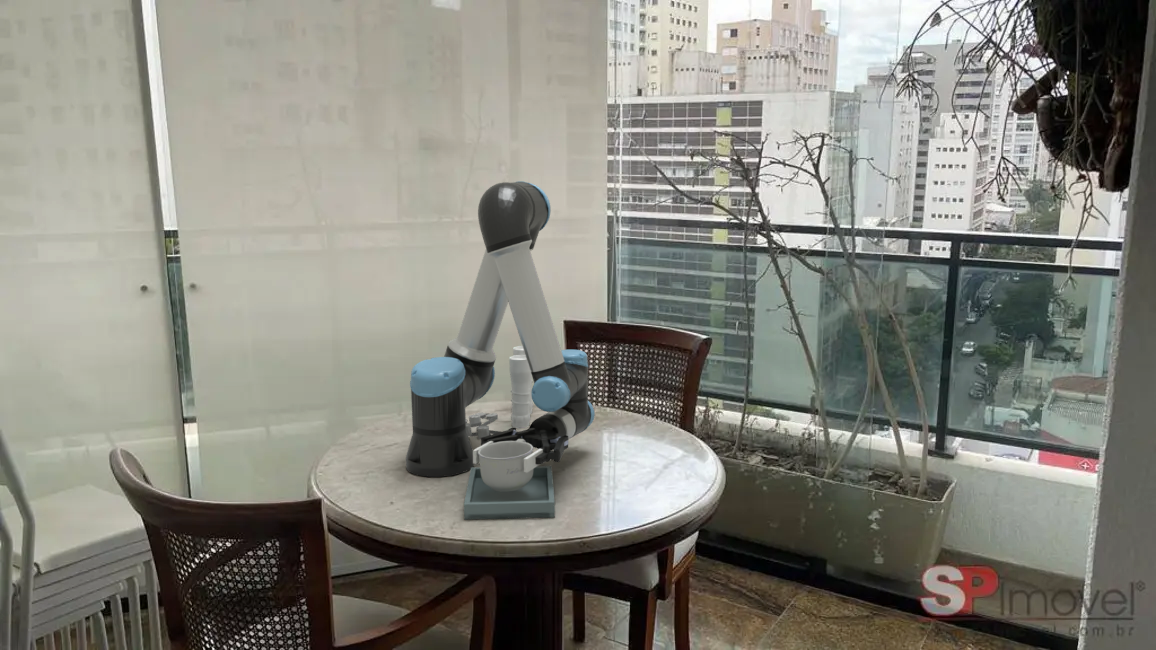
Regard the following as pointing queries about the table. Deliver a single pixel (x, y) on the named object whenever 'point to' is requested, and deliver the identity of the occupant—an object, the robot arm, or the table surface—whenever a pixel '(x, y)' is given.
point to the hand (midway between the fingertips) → (499, 461)
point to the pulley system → (482, 428)
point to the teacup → (505, 465)
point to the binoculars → (520, 388)
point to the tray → (510, 498)
